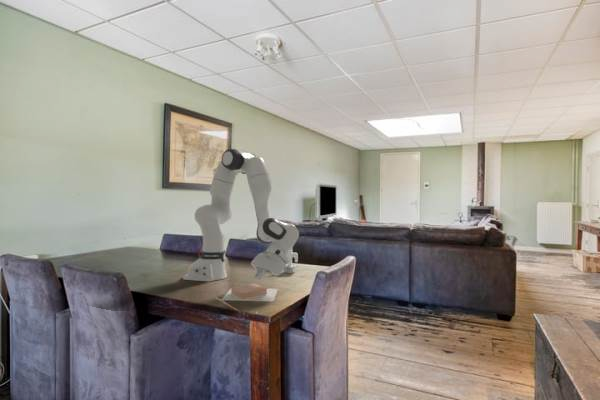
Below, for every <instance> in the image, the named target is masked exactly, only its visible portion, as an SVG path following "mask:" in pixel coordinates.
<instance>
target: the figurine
mask: <svg viewBox="0 0 600 400" xmlns="http://www.w3.org/2000/svg"><path fill="white" fill-rule="evenodd" d="M286 257H287V258H288V259H289V260H290V261H289V263H288V264H286V266H285V268H284V269H283V272H284V274H293V273H295V272H296V270H297V268H298V266H299V265H298V264H293V258H294V262H295V263H298V262H299V260H298V259H299V255H298V253H297V252H293V247H292V248H291V249H290V250H289V251H288V253H287V255H286Z"/></svg>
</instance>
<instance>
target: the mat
mask: <svg viewBox="0 0 600 400" xmlns="http://www.w3.org/2000/svg"><path fill="white" fill-rule="evenodd" d="M278 290H279V288H267V295H265V296H260V297H256V298H251V299H246V300H241V299H239V298H237V297H235V296H233V295H231V288H230V289H228V291H227V292H226V293H225V295H224V296H222V298H221V299H220V302H226V301H237V302H238V301H241V302H243V301H244V302H245V301H246V302H247V301H248V302H274V301H275V298H276V295H277V293H278Z"/></svg>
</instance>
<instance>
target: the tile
mask: <svg viewBox="0 0 600 400" xmlns="http://www.w3.org/2000/svg"><path fill="white" fill-rule="evenodd" d="M230 289H231V295H233V296H235V297H237V298H239V299H241V300H246V299H251V298H256V297H260V296H265V295H267V289H268V288H266V287H265V286H261V285H260V284H257V283H249V284H244V285H238V286H233V287H231V288H230Z"/></svg>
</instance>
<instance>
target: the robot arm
mask: <svg viewBox="0 0 600 400" xmlns="http://www.w3.org/2000/svg"><path fill="white" fill-rule="evenodd" d="M239 174H243V175H246V179H247V183H248V186H249V189H250V193H251V197H252V201H253V205H254V209H255V214H256V221H257V228H256V232H255V233H256V239H257V240H258V241H259V242H260V243H262V244H264V245H269V244H270V245H269V246H268V247H267V248H266V250H264V251H262V252H259V253H258V254H257V255H256V256H255V257H254V258H253V259H252V261H251V262H250V265H251V266H252V267H253V268H254V269H256V273H255V274H254V278H255V279H257V280H261V279H262V278H263V277H264V276H266V275H267V274H271V275H272V276H276V277H277V276H279V275H281V274H282V272H284V270H283V269H284V268H285V266H286V264H288V263H289V261H290V260H289V259H288V257H286V255H287V253H288V251H289V250H290V249H291V248H292V249H293V247H294V246H295V244H296V243H297V240H298V239H299V237H300V232H299V230H298V228H297V227H296V225H294V224H293V223H286V222H282V221H281V220H279V219H277V218H275V217H270V213H269V209H268V202H269V199H270V198H269V197H270V194H271V192H272V180H271V176H270V172H269V169H268V166H267V164H266V161H265V160H264V158H263V157H261V156H256V155H255V154H254V153H250V152H248V151H245V150H238V149H236V148H229V149H226V150H225V151H224V152H223V153H222V155H221V160H220V161H219V163H218V165H217V167H216V169H215V171H214V174H213V178H212V182H211V185H210V188H209V194H210V195H211V202H210V204H205V205H202V206H200V207H198V208H197V209H196V210H195V212H194V220H195V222H196V223H197V224H198V225H199V227H200V231H201V234H202V250H201V251H200V252H199V253H198V256H199V257H198V259H196V260H195V261H194V262H192V263H191V264H190V265H189V266H188V269H187V273H186V274H184V275H183V277H182V279H183V281H184V280H186V281H187V280H188V281H196V282H197V281H199V282H212V281H218V280H223V279H226V278H227V277H228V274H227V270H226V262H225V261H226V250H225V235H224V234H223V233H222V230H221V227H220V226H221V225H223V224H225V223H227V222H228V221H230V219H232V215H233V214H232V210H231V196H232V192H233V188H234V185H235V181H236V177H237V175H239Z"/></svg>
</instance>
